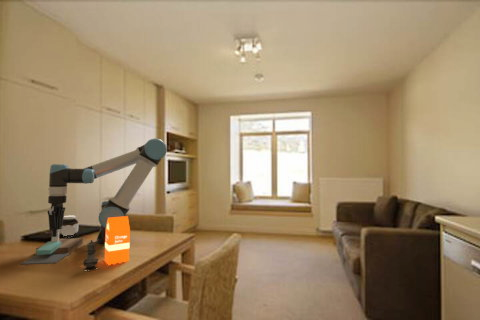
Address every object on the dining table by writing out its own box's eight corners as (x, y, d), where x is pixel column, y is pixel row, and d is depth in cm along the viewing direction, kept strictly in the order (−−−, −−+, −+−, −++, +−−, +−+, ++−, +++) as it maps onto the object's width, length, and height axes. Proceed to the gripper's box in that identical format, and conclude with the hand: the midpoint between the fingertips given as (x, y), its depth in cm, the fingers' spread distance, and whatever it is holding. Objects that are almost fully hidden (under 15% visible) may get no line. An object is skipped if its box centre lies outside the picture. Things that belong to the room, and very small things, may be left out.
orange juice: (104, 260, 125) (105, 216, 125) (124, 257, 130) (126, 214, 131) (108, 265, 118) (109, 219, 119) (129, 261, 124) (130, 217, 124)
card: (61, 245, 135) (61, 241, 135) (50, 254, 126) (50, 250, 125) (48, 245, 134) (48, 241, 134) (36, 254, 125) (36, 250, 124)
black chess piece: (87, 272, 110) (88, 242, 110) (79, 269, 113) (80, 240, 113) (101, 268, 115) (102, 239, 115) (93, 265, 118) (94, 237, 118)
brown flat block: (82, 243, 151) (82, 238, 151) (67, 253, 133) (68, 247, 134) (54, 244, 149) (54, 238, 149) (36, 254, 131) (36, 248, 131)
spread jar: (71, 232, 176) (72, 214, 176) (84, 234, 171) (84, 216, 172) (52, 236, 165) (53, 217, 165) (65, 239, 160) (66, 219, 161)
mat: (70, 253, 134) (70, 252, 134) (56, 263, 120) (56, 262, 120) (38, 254, 131) (38, 253, 131) (20, 264, 117) (20, 263, 117)
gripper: (56, 193, 142) (53, 239, 141) (42, 196, 129) (39, 246, 129) (71, 194, 143) (69, 239, 143) (59, 196, 131) (56, 246, 130)
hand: (55, 242), depth 136 cm, fingers closed
